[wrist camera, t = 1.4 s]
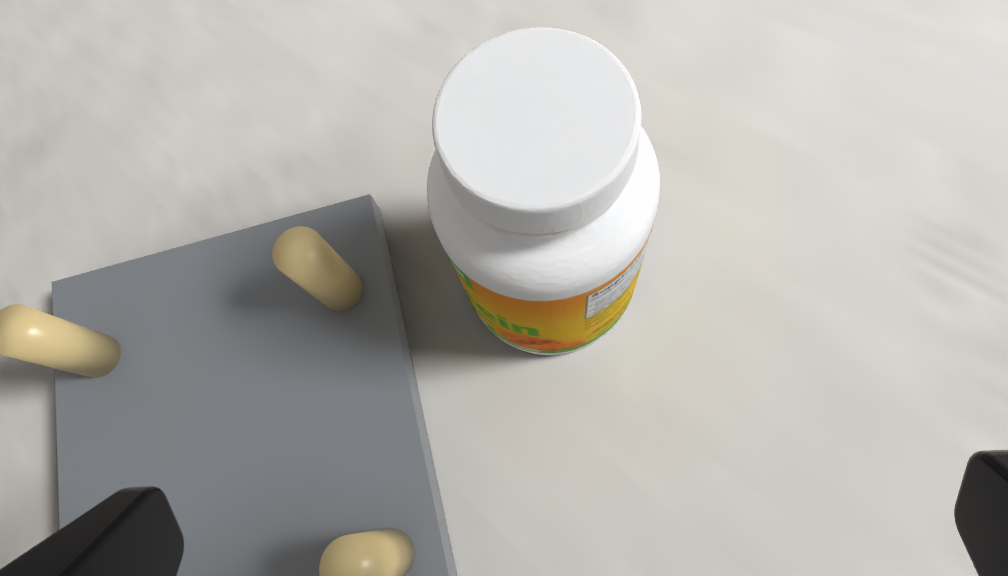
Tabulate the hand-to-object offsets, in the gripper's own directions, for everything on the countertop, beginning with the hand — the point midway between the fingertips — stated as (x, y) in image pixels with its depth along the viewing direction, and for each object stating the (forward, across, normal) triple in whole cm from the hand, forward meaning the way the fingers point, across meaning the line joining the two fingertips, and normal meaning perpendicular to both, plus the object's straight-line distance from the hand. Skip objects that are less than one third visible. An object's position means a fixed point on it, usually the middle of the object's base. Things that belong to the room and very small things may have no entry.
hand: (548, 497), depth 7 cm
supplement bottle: (+14, 0, +4) cm, 15 cm away
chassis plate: (+10, +10, +8) cm, 16 cm away
